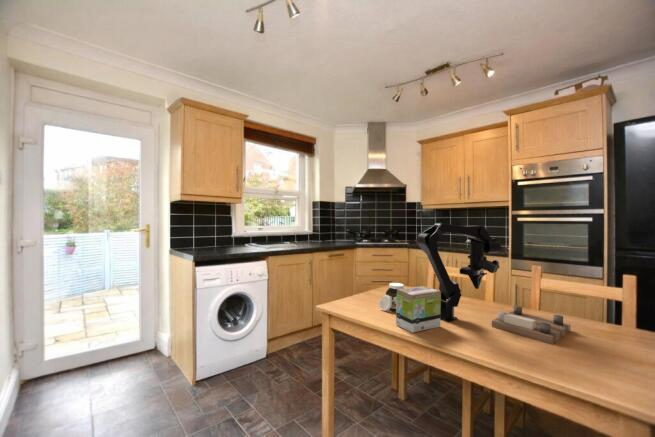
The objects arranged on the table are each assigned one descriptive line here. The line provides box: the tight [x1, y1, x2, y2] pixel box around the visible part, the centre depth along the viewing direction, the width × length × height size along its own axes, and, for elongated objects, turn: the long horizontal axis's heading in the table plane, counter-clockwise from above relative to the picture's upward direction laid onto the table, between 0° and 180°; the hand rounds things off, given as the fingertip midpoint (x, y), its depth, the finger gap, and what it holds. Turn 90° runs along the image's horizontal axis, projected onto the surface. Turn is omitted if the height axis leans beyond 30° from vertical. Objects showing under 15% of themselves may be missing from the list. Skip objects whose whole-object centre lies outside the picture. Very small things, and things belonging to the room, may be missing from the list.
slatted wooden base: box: [491, 305, 571, 345], centre depth 114 cm, size 20×20×6 cm
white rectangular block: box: [497, 311, 535, 330], centre depth 112 cm, size 12×4×3 cm, turn 36°
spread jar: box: [378, 282, 405, 312], centre depth 138 cm, size 12×11×12 cm
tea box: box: [395, 285, 441, 334], centre depth 117 cm, size 15×10×15 cm, turn 117°
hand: (476, 288), depth 129 cm, fingers closed
